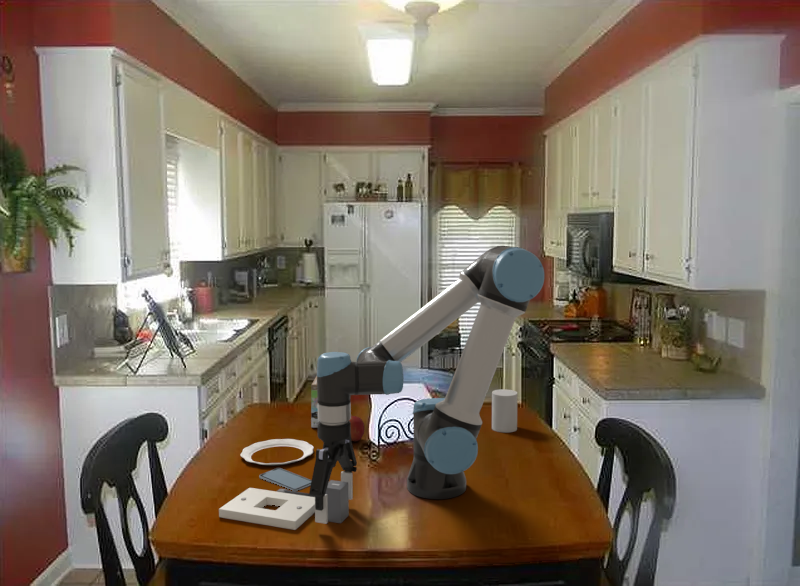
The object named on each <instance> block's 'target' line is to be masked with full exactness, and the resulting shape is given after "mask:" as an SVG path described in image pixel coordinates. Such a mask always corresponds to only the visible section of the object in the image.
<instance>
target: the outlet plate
mask: <svg viewBox="0 0 800 586" xmlns="http://www.w3.org/2000/svg"><path fill="white" fill-rule="evenodd" d="M267 505H268V506H272V505H275V506H274V507H278V506H280V507H278V508H277V509H275V510H274V509H269V508H265V507H266V506H267ZM264 506H265V507H264ZM313 515H315V497H310V496H303V495H296V494H289V493H283V492H277V490H276V491H275V490H268V489H261V488H254V487H249V488H246V489H245V490H244V491H242V492H241V493H239V495H237V496H235V497H234V498H233V499H231V500H230V501H228V502H227V503H225V504H224V505H223V506H221V507H220V508H218V517H219V518H223V519H228V520H234V521H240V522H246V523H250V524H251V523H252V524H257V525H264V526H270V527H276V528H282V529H287V530H294V531H296V530H297V529H298V528H299V527H301V526H302V525H303V524H304V523H305V522H306V521H307V520H308V519H309V518H310V517H312V516H313Z"/></svg>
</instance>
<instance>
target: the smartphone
mask: <svg viewBox="0 0 800 586" xmlns="http://www.w3.org/2000/svg"><path fill="white" fill-rule="evenodd" d="M258 477H259V479H260V480H262V479H263V481H265V480H266V481H265V482H267V483H270V482H271V483H270V484H273V483H274V484H273V485H275V484H277V485H276V486H278V485H279V487H281V486H282V487H281V488H283V487H285V488H284V489H286V488H287V489H286V490H289V489H290V490H289V491H291V490H292V491H295V492H299V491H301V490H304V489H307V488H308V487H310V486H311V481H312V479H309V478H307V477H304V476H302V475H300V474H297V473H294V472H292V471H289V470H286V469H283V468H281V467H276V468H274V469H271V470H268V471H266V472H263V473H260V474H259V476H258ZM298 490H299V491H298Z"/></svg>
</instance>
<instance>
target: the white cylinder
mask: <svg viewBox="0 0 800 586" xmlns="http://www.w3.org/2000/svg"><path fill="white" fill-rule="evenodd" d="M491 430H492V431H494V432H497V433H504V434H505V433H513V432H517V430H518V391H516V390H512V389H503V388H502V389H500V388H499V389H494V390H492V392H491Z"/></svg>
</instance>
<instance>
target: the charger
mask: <svg viewBox="0 0 800 586" xmlns="http://www.w3.org/2000/svg"><path fill="white" fill-rule="evenodd" d="M325 494H327V503H328V523H329V522H330V523H334V524H335V523H337V524H342V523H343V522H344V521H345V520H346V519H347V518H348V517H349V515H350V513H349V512H350V510H349V509H350V506H349V498H348V482H342V481H341V480H334V479H329V483H328V486H327V490H326V493H325Z"/></svg>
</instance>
